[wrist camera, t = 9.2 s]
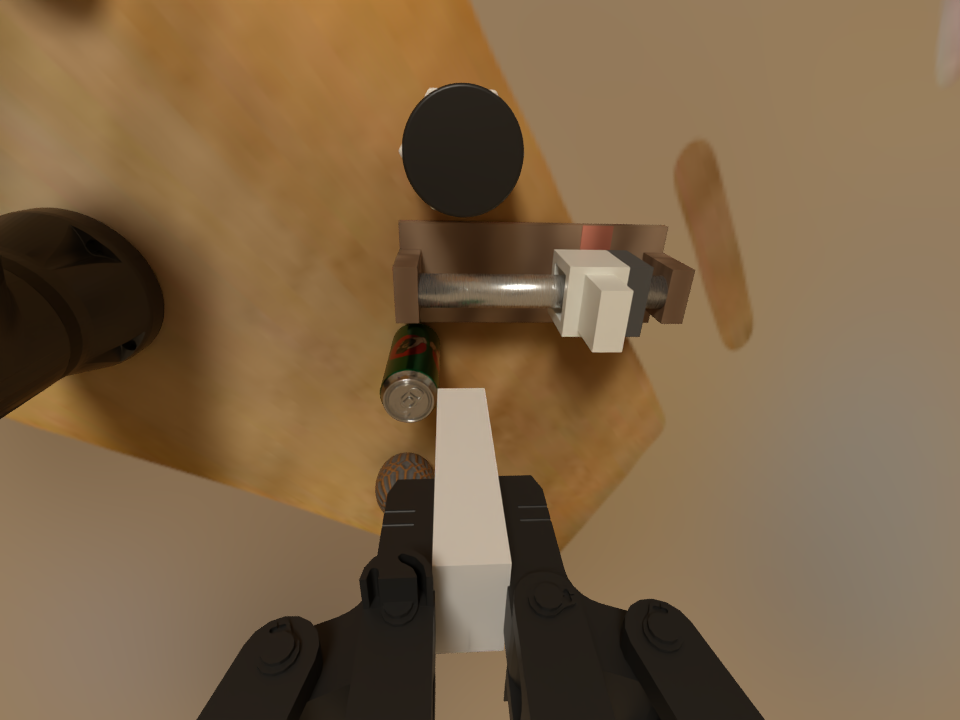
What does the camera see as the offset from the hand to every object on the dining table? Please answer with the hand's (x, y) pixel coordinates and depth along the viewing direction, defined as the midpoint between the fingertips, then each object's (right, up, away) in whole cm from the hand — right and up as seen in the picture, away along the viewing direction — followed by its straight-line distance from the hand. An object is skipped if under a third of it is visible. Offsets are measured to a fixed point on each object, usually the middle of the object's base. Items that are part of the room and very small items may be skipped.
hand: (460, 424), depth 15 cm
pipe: (+6, +9, +27) cm, 29 cm away
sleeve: (+10, +10, +29) cm, 32 cm away
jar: (-1, +21, +26) cm, 33 cm away
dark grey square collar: (+13, +10, +29) cm, 33 cm away
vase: (-8, -11, +41) cm, 44 cm away
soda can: (-6, +4, +34) cm, 35 cm away
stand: (+6, +11, +31) cm, 33 cm away
